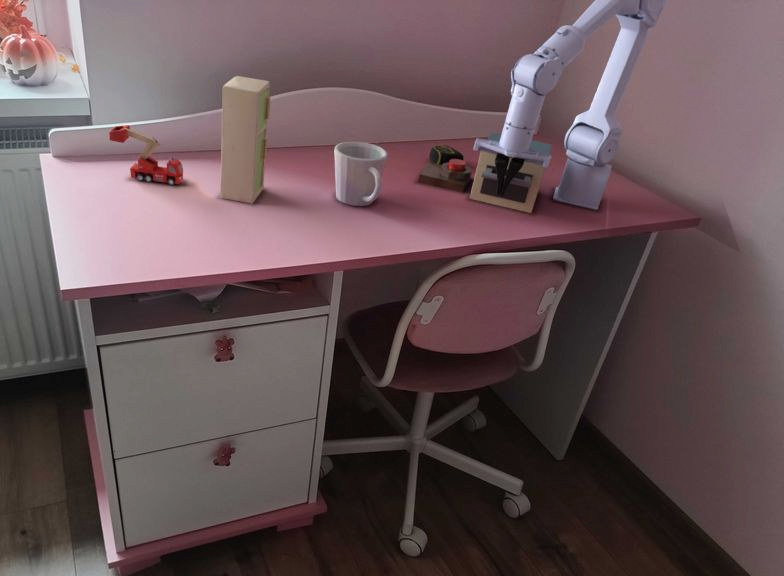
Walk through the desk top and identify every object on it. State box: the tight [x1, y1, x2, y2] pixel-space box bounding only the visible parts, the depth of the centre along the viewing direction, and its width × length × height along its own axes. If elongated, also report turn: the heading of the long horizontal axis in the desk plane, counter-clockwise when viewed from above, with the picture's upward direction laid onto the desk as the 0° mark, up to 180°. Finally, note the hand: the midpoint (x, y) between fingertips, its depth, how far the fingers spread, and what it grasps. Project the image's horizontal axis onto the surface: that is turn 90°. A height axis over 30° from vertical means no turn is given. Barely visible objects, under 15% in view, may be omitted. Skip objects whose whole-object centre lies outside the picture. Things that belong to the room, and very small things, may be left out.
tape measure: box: [428, 144, 465, 165], centre depth 156 cm, size 7×7×4 cm
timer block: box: [417, 161, 473, 193], centre depth 148 cm, size 10×9×4 cm
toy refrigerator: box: [220, 75, 271, 204], centre depth 125 cm, size 8×7×21 cm
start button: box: [448, 159, 467, 172], centre depth 146 cm, size 4×4×2 cm
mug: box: [333, 141, 389, 207], centre depth 131 cm, size 10×15×10 cm
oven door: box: [469, 151, 546, 214], centre depth 136 cm, size 5×13×11 cm, turn 69°
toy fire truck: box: [108, 125, 184, 186], centre depth 130 cm, size 3×14×10 cm, turn 84°
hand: (500, 193), depth 133 cm, fingers closed, pressing on oven door
